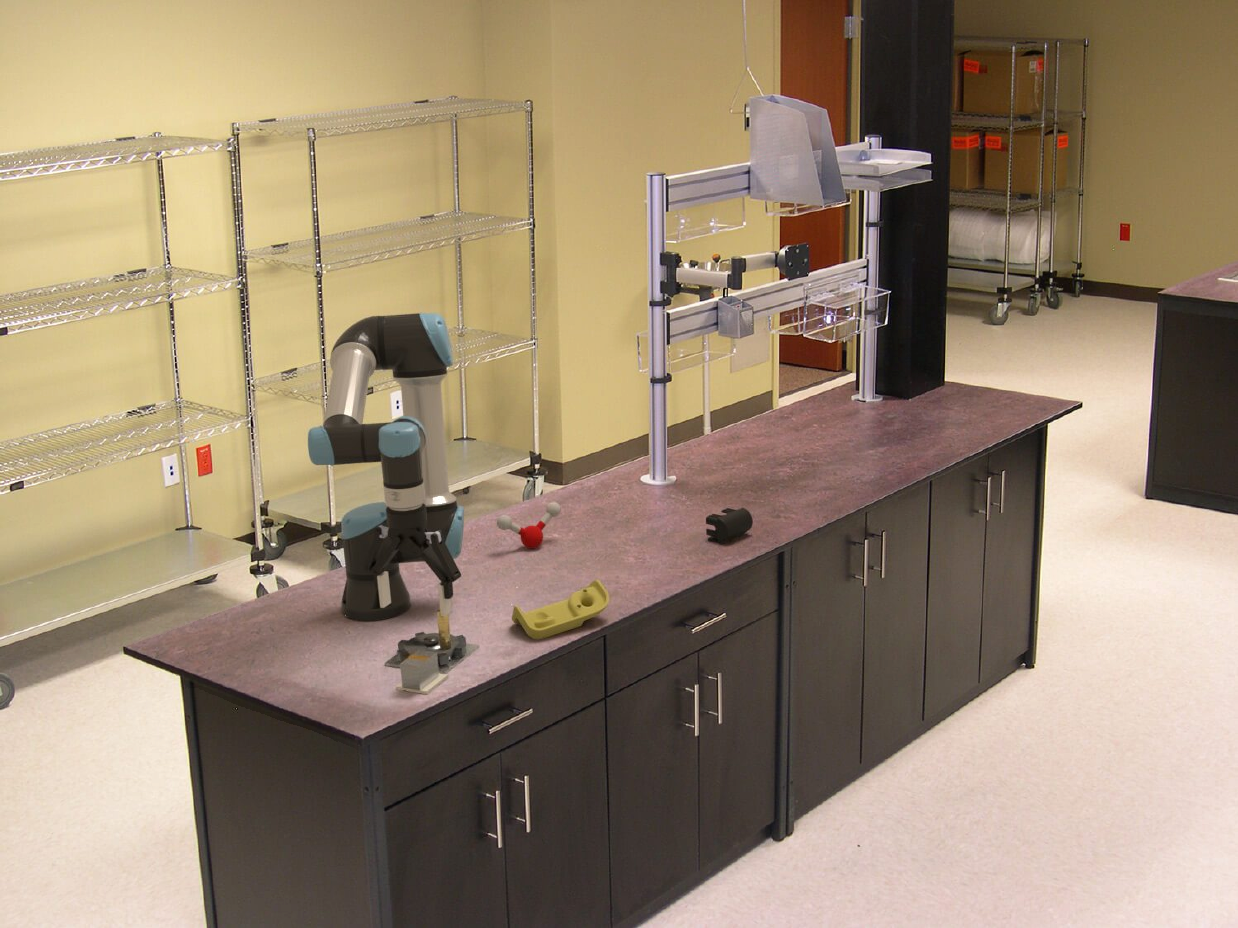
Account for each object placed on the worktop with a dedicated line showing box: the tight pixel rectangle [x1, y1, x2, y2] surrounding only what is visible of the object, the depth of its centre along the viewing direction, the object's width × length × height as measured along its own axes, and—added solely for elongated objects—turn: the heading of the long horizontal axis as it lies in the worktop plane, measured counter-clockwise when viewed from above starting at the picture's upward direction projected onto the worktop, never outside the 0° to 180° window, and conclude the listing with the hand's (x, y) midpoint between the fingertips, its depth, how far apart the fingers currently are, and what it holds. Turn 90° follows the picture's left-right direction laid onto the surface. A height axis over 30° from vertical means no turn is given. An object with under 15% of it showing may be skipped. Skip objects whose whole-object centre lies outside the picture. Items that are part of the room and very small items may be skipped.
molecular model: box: [496, 501, 562, 549], centre depth 360 cm, size 18×6×10 cm, turn 130°
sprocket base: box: [384, 642, 480, 674], centre depth 301 cm, size 14×14×1 cm
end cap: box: [705, 507, 754, 545], centre depth 360 cm, size 10×7×7 cm
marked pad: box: [395, 673, 449, 695], centre depth 288 cm, size 7×8×1 cm
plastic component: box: [511, 579, 610, 640], centre depth 314 cm, size 20×7×10 cm
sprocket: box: [396, 609, 467, 665], centre depth 299 cm, size 14×14×10 cm
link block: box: [400, 649, 439, 690], centre depth 287 cm, size 4×7×5 cm, turn 155°
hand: (415, 609), depth 284 cm, fingers open, 13 cm apart
